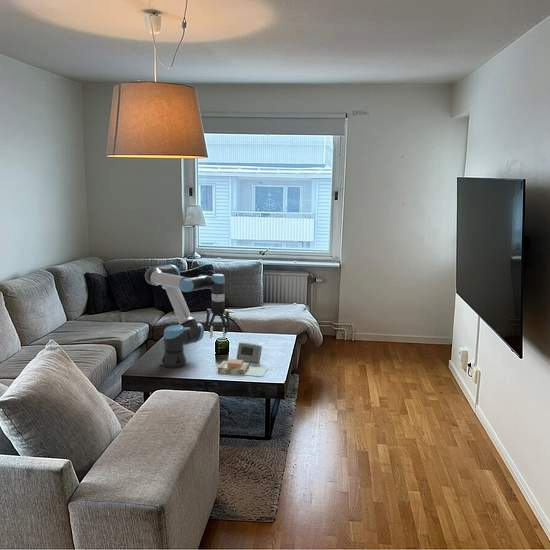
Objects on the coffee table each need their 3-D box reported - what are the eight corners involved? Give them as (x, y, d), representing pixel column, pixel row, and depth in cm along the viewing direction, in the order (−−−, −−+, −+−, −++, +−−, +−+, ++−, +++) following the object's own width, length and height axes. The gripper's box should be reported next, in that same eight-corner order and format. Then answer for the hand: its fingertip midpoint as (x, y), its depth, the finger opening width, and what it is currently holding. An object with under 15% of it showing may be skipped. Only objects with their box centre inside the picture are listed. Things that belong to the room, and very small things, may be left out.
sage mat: (244, 375, 317) (244, 374, 317) (249, 367, 331) (249, 366, 331) (262, 377, 315) (262, 376, 315) (267, 368, 329) (267, 368, 329)
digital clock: (234, 359, 344) (235, 343, 342) (243, 356, 351) (243, 340, 349) (255, 365, 335) (255, 348, 333) (264, 361, 342) (264, 345, 340)
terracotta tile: (227, 366, 322) (227, 362, 321) (230, 362, 329) (230, 358, 328) (240, 367, 321) (240, 363, 320) (243, 364, 327) (243, 360, 327)
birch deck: (217, 372, 321) (218, 367, 320) (223, 365, 333) (223, 360, 332) (244, 374, 318) (244, 369, 318) (249, 367, 330) (249, 363, 329)
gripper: (199, 300, 318) (199, 338, 322) (233, 302, 314) (232, 341, 318) (203, 298, 325) (203, 334, 329) (236, 300, 322) (235, 337, 326)
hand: (217, 337), depth 324 cm, fingers open, 7 cm apart
